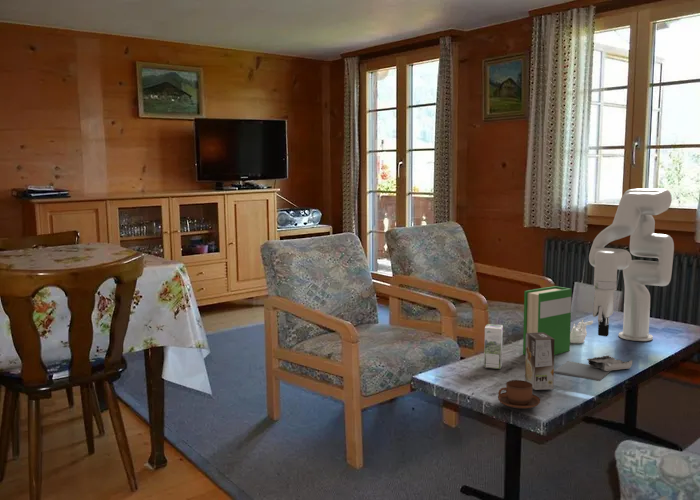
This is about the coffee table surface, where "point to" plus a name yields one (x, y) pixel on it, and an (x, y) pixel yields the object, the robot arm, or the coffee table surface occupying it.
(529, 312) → the hardback book
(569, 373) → the mat
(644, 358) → the coffee table surface
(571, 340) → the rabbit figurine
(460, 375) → the coffee table surface
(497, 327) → the syrup box
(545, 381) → the coffee box
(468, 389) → the coffee table surface
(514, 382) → the cup and saucer
